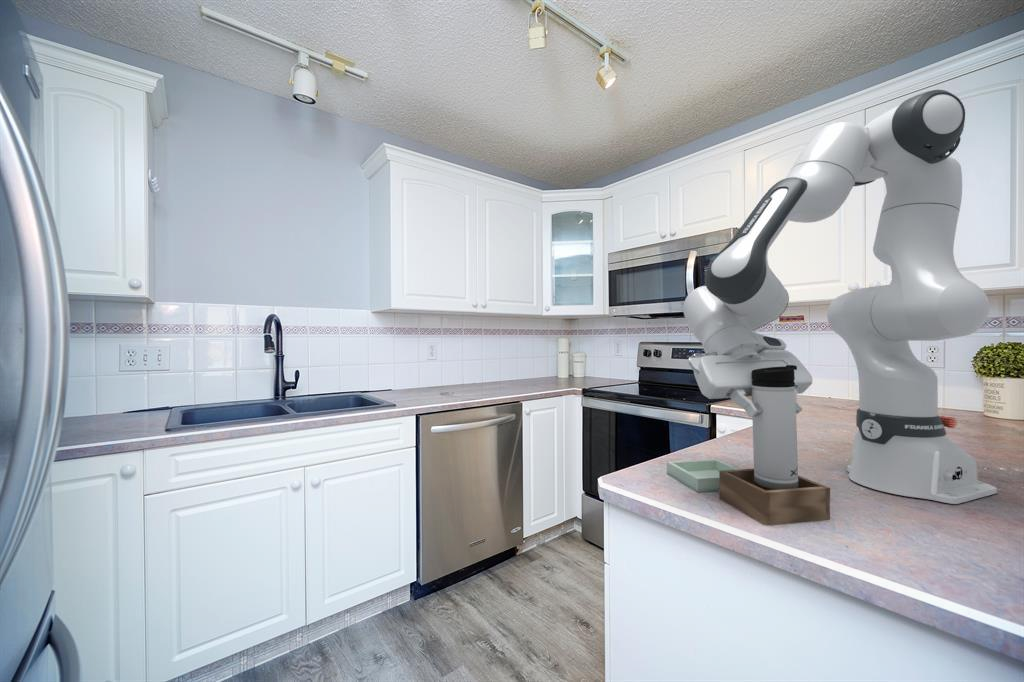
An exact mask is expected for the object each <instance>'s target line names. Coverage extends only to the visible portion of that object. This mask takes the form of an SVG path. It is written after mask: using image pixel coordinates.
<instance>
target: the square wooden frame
mask: <svg viewBox="0 0 1024 682" xmlns="http://www.w3.org/2000/svg"><path fill="white" fill-rule="evenodd" d="M738 469H739V470H724V471H719V492H718V493H719V497H718V498H719V500H721V501H723V502H725V503H727V504H728V505H730V506H731V507H733V508H735V509H737V510H738V511H740V512H742V513H743V514H745V515H747V516H749V517H751V518H752V519H754V520H756V521H757V522H759V523H761V524H762V525H764V526H771V525H772V526H773V525H783V524H785V525H786V524H793V523H794V524H795V523H804V522H805V523H807V522H815V521H816V522H817V521H825V520H831V487H829V486H826V485H823V484H820V483H819V482H815V481H814V480H811V479H808V478H806V477H803V476H800V475H798V488H794V489H781V490H774V489H769V488H766V487H763V486H760V485H758V484H757V483H756V482H755V481H754V468H741V469H740V468H738Z"/></svg>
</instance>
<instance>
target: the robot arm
mask: <svg viewBox="0 0 1024 682" xmlns="http://www.w3.org/2000/svg"><path fill="white" fill-rule="evenodd" d="M965 122H966V109H965V105H964V104H963V102H962V101H961V99H960V98H959V97H958V96H957V95H955V94H953V93H951V92H950V91H948V90H944V89H933V90H928V91H924V92H922V93H919V94H917V95H914V96H911V97H910V98H909V97H908V99H906V100H904V101H902V103H901V104H900V105H899V104H898V105H897V106H895V107H893V108H890V109H889V110H887V111H885V112H884V113H882V114H880V115H878V116H877V117H875V118H873V119H872V120H870V122H868V123H867V124H866V125H864V126H862V125H861V124H859V123H857V122H852V121H839V122H834V123H831V124H828V125H826V126H824V127H823V128H821V129H820V130H819V131H818V132H817V133H816V134H815V135H814V136H813V138H812V139H810V141H809V142H808V144H806V145H805V148H804V149H803V150H802V151H801V153H800V154H799V156H798V158H797V159H796V161H795V162H794V163H793V165H792V167H791V169H790V171H789V173H788V174H787V176H786V177H785V178H783V179H781V180H779V181H778V182H776V183H774V185H772V186H771V187H770V188H769V189H768V190H767V192H766V193H765V194H764V195H763V196H762V197H761V199H760V200H759V202H758V203H757V204H756V206H754V209H753V210H752V211H751V212H750V214H749V215H748V216H747V218H746V219H745V220H744V223H743V224H742V225H741V226H740V228H739V229H738V230H737V232H736V233H735V235H734V236H733V237H732V239H731V240H730V241H729V242H728V243H727V244H726V245H725V246H724V247H723V248H722V249H721V250H720V251H719V252H718V253H717V254H716V255H715V256H714V257H713V258H712V259H711V261H709V264H708V266H707V267H706V270H705V272H704V273H705V274H704V284H705V285H702V286H701V285H700V286H699V287H698V286H697V288H695V289H693V290H691V291H690V293H689V294H687V296H686V297H685V300H684V302H683V307H682V309H683V310H682V311H683V312H682V313H683V316H684V319H685V320H686V323H687V325H688V327H689V329H690V331H691V332H692V334H693V335H694V337H695V339H697V340H698V341H699V342H700V343H701V344H702V348H703V351H704V353H692V355H691V356H689V357H688V360H687V362H688V365H689V366H690V369H691V370H692V371H693V375H694V379H695V380H696V383H697V386H698V388H699V391H700V392H701V394H702V395H703V396H704V397H706V398H707V399H709V400H713V399H714V400H716V399H730V400H732V402H733V403H734V404H736V405H737V406H738V407H740V408H742V409H743V410H744V411H745V412H746V414H747V415H748V417H750V418H752V417H755V416H759V415H760V414H761V413H762V409H761V408H760V407H759V404H758V403H753V402H752V399H750V398H752V375H751V373H752V370H756V369H761V368H769V367H783V366H786V365H795V366H797V370H794V376H795V380H794V382H795V389H794V390H795V391H796V415H797V414H800V412H802V411H803V406H802V405H801V403H800V402H799V401H798V395H800V394H803V393H805V392H806V391H807V390H808V389H809V388H810V387H811V386H812V384H813V377H812V374H811V373H810V371H809V370H808V369H807V368H806V367H805V365H804V364H803V363H802V362H801V361H800V359H798V357H797V356H796V355H794V353H792V352H790V351H789V350H786V348H787V344H786V342H784V340H782V339H780V338H776V337H771V336H767V335H763V334H760V333H758V332H755V330H758V329H760V328H762V327H764V326H766V325H768V324H770V323H772V322H774V321H775V320H777V319H778V318H780V317H781V316H782V315H783V313H785V311H786V310H787V308H788V305H789V303H790V302H789V301H790V296H789V293H788V290H787V289H786V288H785V286H784V284H783V283H782V281H781V280H779V278H778V276H776V275H775V273H774V272H773V271H772V269H771V267H770V266H769V260H768V252H769V250H770V248H771V246H772V245H773V244H774V242H775V241H776V239H777V238H778V237H779V235H780V233H781V232H782V231H783V229H784V228H785V227H786V225H787V224H788V222H795V223H803V224H805V223H806V224H807V223H808V224H809V223H817V222H820V221H823V220H825V219H828V218H829V217H832V216H834V214H835V213H837V212H838V210H839V209H840V208H841V207H842V206H843V205H844V204H845V202H846V200H847V198H848V197H849V195H850V193H851V192H852V190H853V188H854V187H860V186H864V185H867V184H870V183H873V182H875V181H876V180H878V179H882V178H883V180H884V184H885V188H886V194H885V196H884V199H883V203H882V206H881V210H880V215H879V219H878V223H877V228H876V232H875V233H876V234H875V237H874V238H875V239H874V242H873V246H872V251H873V255H874V256H875V258H877V259H878V261H880V262H882V263H883V264H885V265H888V266H890V270H891V281H890V283H889V284H885V285H876V286H869V287H861V288H857V289H855V290H851V291H849V292H846V293H843V294H841V295H838V296H837V297H836V298H834V299H833V300H832V301H831V303H830V304H829V306H828V309H827V314H826V315H827V321H828V325H829V327H830V328H831V329H832V331H833V332H834V333H836V334H837V336H840V337H841V338H842V340H843V341H844V342H845V343H846V345H847V347H848V348H849V350H850V353H851V354H852V357H853V360H854V361H855V364H856V368H857V374H858V393H859V394H858V395H859V396H858V397H859V399H858V401H859V403H858V404H859V405H858V406H859V407H858V408H857V409H856V414H855V420H856V421H855V422H856V423H855V425H856V427H857V428H858V431H857V432H855V434H854V437H853V443H852V453H851V460H850V464H847V466H846V471H847V472H848V478H849V479H850V481H851V480H852V482H854V483H857V484H858V485H862V486H864V487H867V488H870V489H871V490H876V491H879V492H884V493H888V494H893V495H898V496H902V497H903V496H904V497H909V498H916V499H917V498H918V499H924V500H931V501H936V502H941V503H946V504H951V505H958V504H961V503H967V502H970V501H973V500H977V499H980V498H985V497H988V496H991V495H995V494H997V493H998V489H997V487H996V486H994V485H991V484H990V483H987V482H984V481H981V480H978V467H977V461H976V460H975V458H974V457H973V455H970V454H969V453H968V452H967V451H965V450H964V449H963V448H961V447H960V446H959V445H957V443H955V442H954V441H953V440H951V439H950V438H948V437H947V436H946V435H947V432H946V429H945V427H946V428H948V429H955V428H956V426H957V425H958V420H956V417H950V416H949V417H947V416H945V415H941V416H939V413H938V412H939V411H938V408H939V407H938V406H939V404H938V403H939V401H938V399H939V398H938V393H939V392H938V391H939V390H938V387H939V386H938V385H939V384H938V380H939V379H938V376H937V374H936V372H935V370H934V369H932V368H931V367H930V366H928V365H927V364H925V363H923V362H922V361H920V360H919V359H918V358H917V357H916V356H915V354H914V352H913V351H912V349H911V346H910V343H909V342H910V341H916V342H917V341H920V342H921V341H924V342H925V341H928V342H932V341H933V342H934V341H937V342H938V341H943V340H949V339H956V338H960V337H965V336H969V335H972V334H974V333H976V332H977V331H978V330H980V328H981V327H982V326H983V325H984V324H985V322H986V321H987V318H988V316H989V314H990V303H989V302H990V301H989V298H988V296H987V294H986V293H985V291H984V290H983V289H982V288H981V287H980V286H978V285H977V283H974V282H972V281H970V280H968V279H967V278H966V277H965V276H963V274H962V273H961V272H960V270H959V268H958V266H957V264H956V261H955V256H954V245H955V237H956V232H957V224H958V221H959V215H960V211H961V204H962V197H963V173H962V172H963V171H962V166H961V164H960V162H959V161H958V160H957V159H956V158H954V157H952V156H951V155H952V154H953V153H954V152H955V151H956V150H957V149H958V147H959V144H960V142H961V140H962V139H961V137H962V134H963V131H964V128H965ZM749 397H750V398H749Z"/></svg>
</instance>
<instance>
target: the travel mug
mask: <svg viewBox="0 0 1024 682" xmlns="http://www.w3.org/2000/svg"><path fill="white" fill-rule="evenodd" d="M794 370H797V366H795V365H786V366H783V367H769V368H761V369H756V370H752V373H751V375H752V397H751V401H752V402H753V403H758V404H759V407H760V408H761V409H762V413H761V414H760V415H759V416H755V417H751V418H752V445H753V451H752V452H753V469H754V481H755V482H756V483H757V484H758V485H760V486H763V487H766V488H769V489H774V490H781V489H794V488H798V476H799V465H798V464H799V463H798V461H799V460H798V432H797V431H798V429H797V426H798V424H797V414H796V391H795V390H794V389H795V382H794V380H795V376H794Z"/></svg>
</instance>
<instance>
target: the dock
mask: <svg viewBox="0 0 1024 682" xmlns="http://www.w3.org/2000/svg"><path fill="white" fill-rule="evenodd" d="M739 469H740V468H737V467H735V466H733V465H731V464H728V463H726V462H724V461H722V460H720V459H718V458H711V459H710V458H709V459H693V460H678V461H677V460H676V461H667V462H666V475H669V476H670V477H672V478H673V479H675V480H676V481H678V482H680V483H681V482H682V483H681V484H683V485H685V486H686V485H687V487H688V486H689V487H688V488H690V489H691V488H692V490H693V491H695V492H696V491H697V493H705V492H718V491H719V471H724V470H739Z"/></svg>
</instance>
